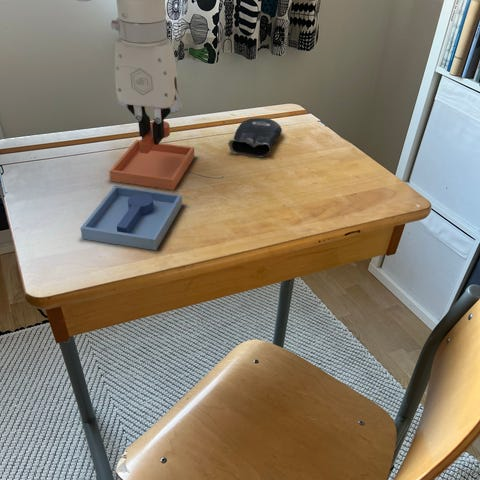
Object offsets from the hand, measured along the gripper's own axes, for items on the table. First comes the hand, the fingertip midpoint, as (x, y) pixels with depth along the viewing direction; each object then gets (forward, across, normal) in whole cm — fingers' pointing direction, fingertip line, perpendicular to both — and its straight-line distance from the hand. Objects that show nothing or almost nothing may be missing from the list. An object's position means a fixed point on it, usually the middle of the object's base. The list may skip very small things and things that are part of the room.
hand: (152, 140), depth 95 cm
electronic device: (+6, +17, +18) cm, 26 cm away
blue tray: (+6, +3, -19) cm, 20 cm away
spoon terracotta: (0, 0, 0) cm, 1 cm away
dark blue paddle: (+5, +3, -19) cm, 20 cm away
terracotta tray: (+6, 0, 0) cm, 6 cm away
